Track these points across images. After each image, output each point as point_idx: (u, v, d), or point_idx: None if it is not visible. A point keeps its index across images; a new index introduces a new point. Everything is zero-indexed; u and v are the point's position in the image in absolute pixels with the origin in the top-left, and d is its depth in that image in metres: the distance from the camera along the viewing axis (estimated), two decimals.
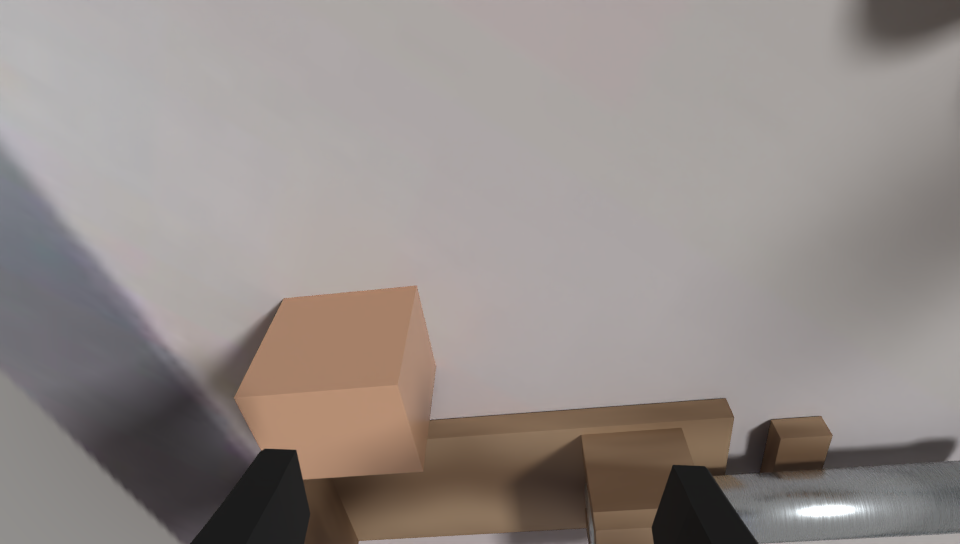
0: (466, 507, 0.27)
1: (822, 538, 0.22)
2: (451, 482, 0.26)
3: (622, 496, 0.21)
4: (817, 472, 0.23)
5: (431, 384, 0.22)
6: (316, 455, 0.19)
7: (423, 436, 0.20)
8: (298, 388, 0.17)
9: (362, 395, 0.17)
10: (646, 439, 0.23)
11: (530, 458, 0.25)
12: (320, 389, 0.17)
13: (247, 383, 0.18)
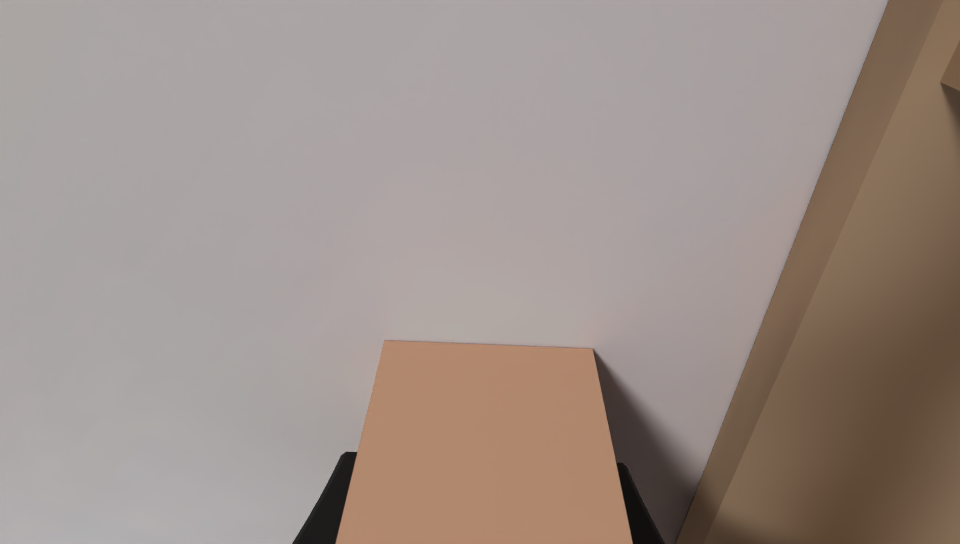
0: None
1: None
2: (926, 410, 0.10)
3: None
4: None
5: (582, 402, 0.10)
6: None
7: (595, 543, 0.08)
8: None
9: None
10: None
11: (956, 236, 0.08)
12: None
13: None
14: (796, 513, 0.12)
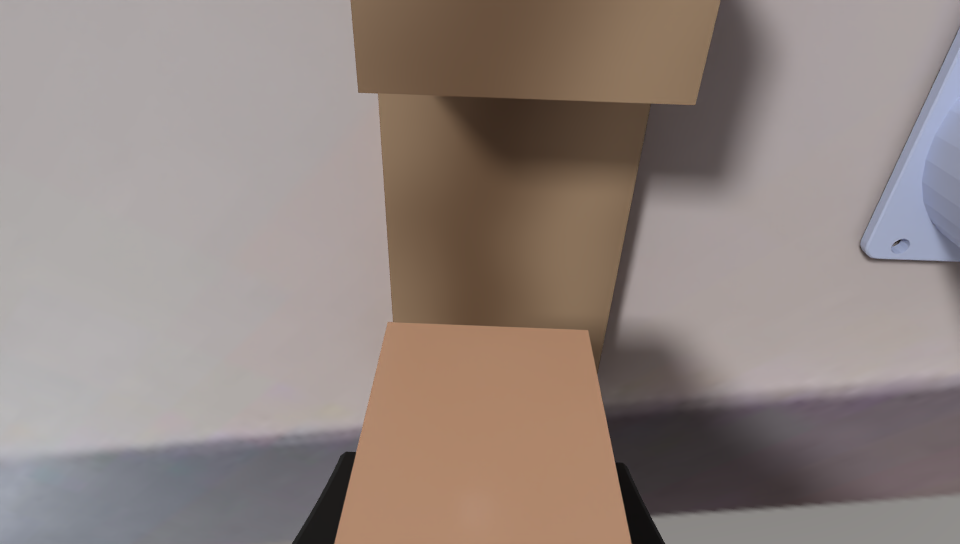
0: (550, 236, 0.17)
1: None
2: (485, 245, 0.17)
3: None
4: None
5: (577, 379, 0.10)
6: None
7: (589, 507, 0.08)
8: None
9: None
10: None
11: (443, 128, 0.15)
12: None
13: None
14: None
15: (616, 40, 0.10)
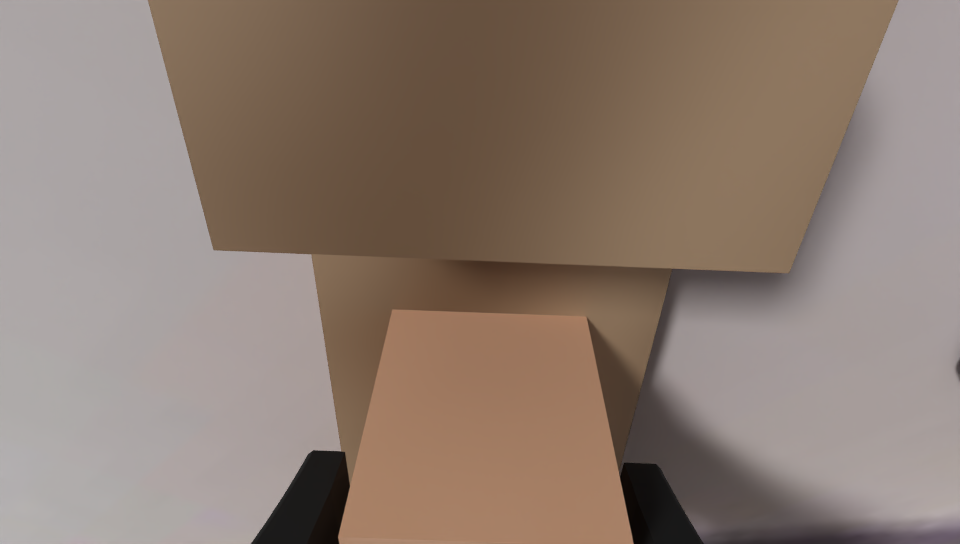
0: None
1: None
2: None
3: None
4: None
5: (576, 362, 0.11)
6: None
7: (586, 481, 0.09)
8: None
9: None
10: None
11: None
12: None
13: None
14: None
15: (658, 175, 0.06)
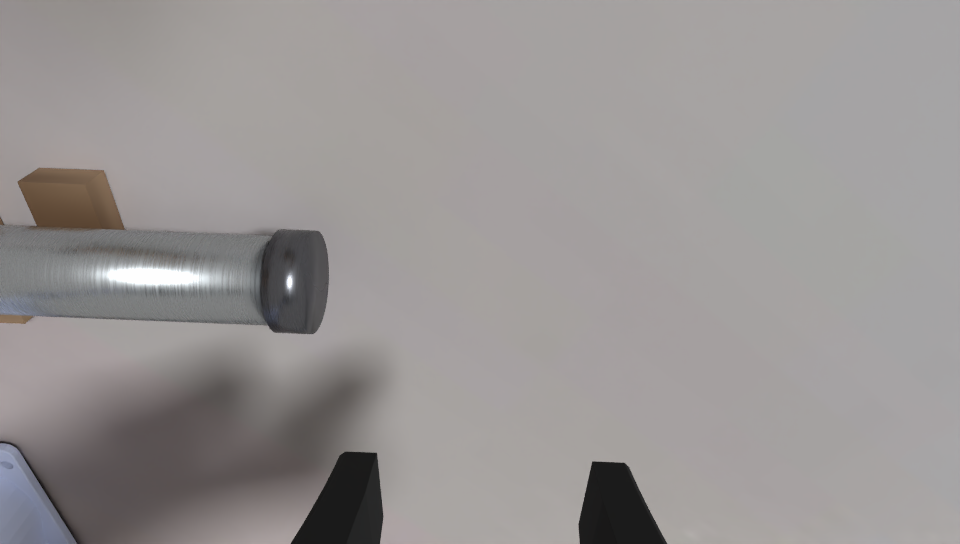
0: None
1: (3, 304, 0.16)
2: None
3: None
4: None
5: None
6: None
7: None
8: None
9: None
10: None
11: None
12: None
13: None
14: None
15: None
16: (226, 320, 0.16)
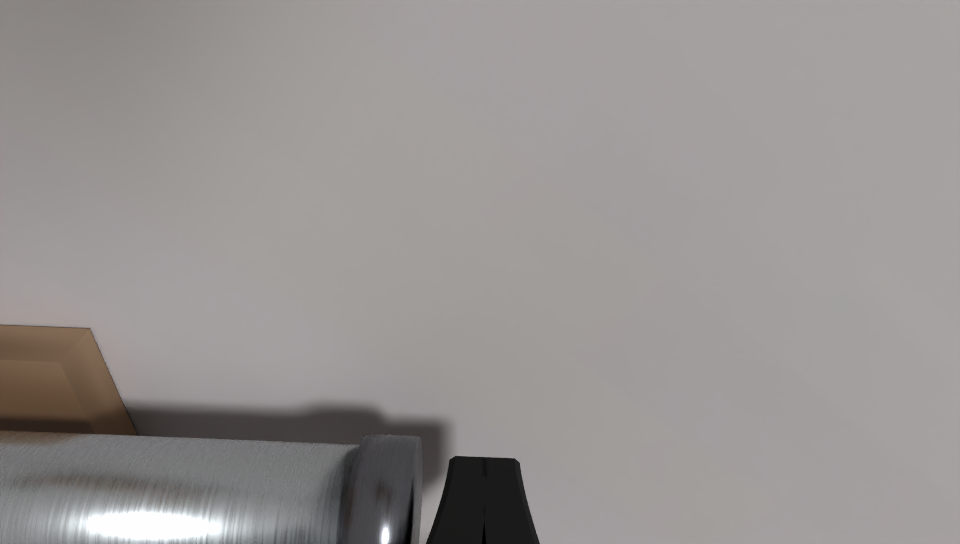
0: None
1: None
2: None
3: None
4: None
5: None
6: None
7: None
8: None
9: None
10: None
11: None
12: None
13: None
14: None
15: None
16: None
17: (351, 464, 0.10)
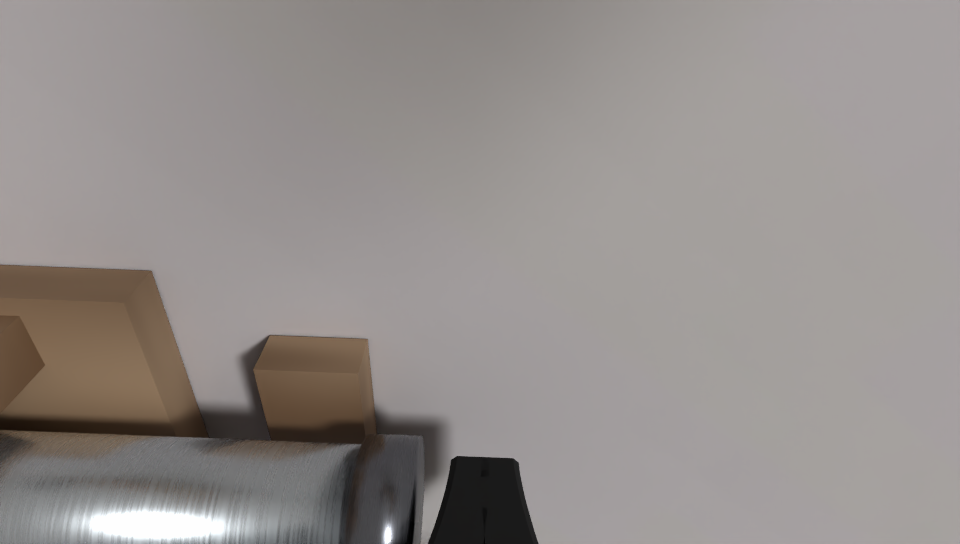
0: None
1: None
2: None
3: None
4: None
5: None
6: None
7: None
8: None
9: None
10: None
11: None
12: None
13: None
14: None
15: None
16: None
17: (353, 463, 0.10)
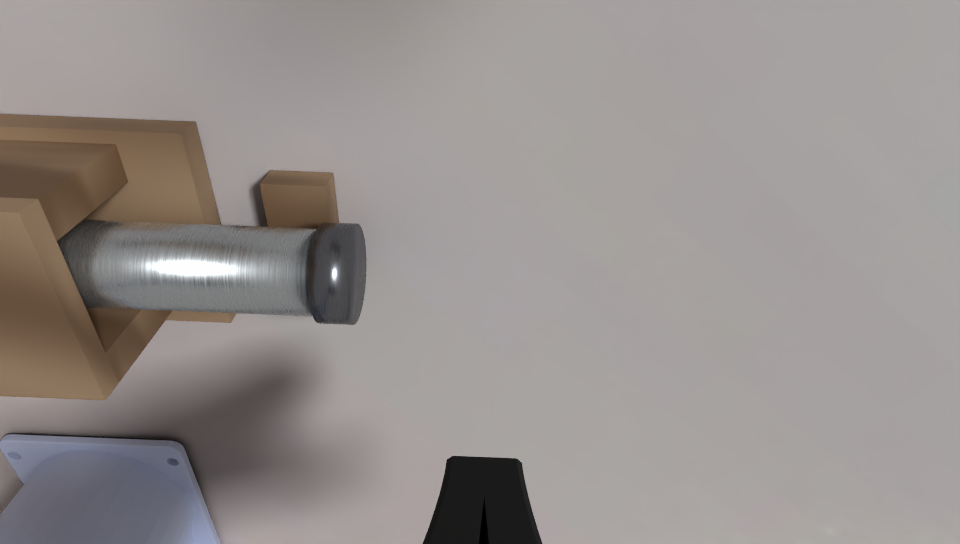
0: None
1: None
2: None
3: None
4: None
5: None
6: None
7: None
8: None
9: None
10: (55, 148, 0.17)
11: None
12: None
13: None
14: None
15: None
16: (271, 311, 0.17)
17: None
